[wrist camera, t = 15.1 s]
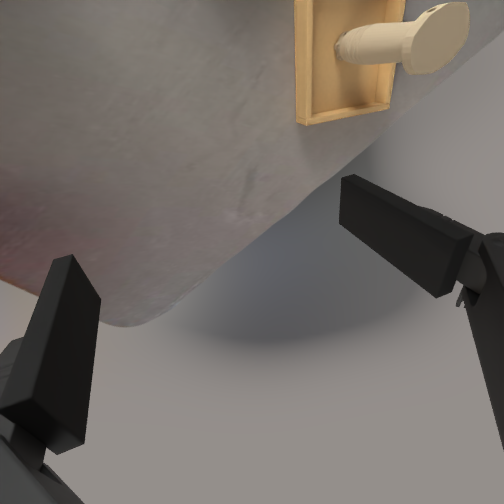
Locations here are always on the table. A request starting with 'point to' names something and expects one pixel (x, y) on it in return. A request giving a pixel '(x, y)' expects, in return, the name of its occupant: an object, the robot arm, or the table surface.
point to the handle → (409, 40)
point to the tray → (336, 71)
